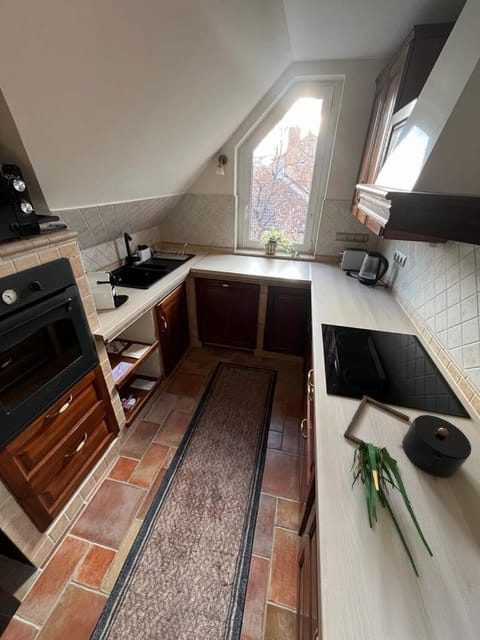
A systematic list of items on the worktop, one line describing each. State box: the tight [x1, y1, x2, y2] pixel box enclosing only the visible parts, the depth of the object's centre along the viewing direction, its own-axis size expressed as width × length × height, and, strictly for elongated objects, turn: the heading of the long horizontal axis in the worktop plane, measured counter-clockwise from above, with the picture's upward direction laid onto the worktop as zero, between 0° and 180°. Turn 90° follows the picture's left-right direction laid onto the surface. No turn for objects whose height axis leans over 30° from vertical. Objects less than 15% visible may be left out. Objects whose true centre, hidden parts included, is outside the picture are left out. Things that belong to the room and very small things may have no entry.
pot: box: [401, 414, 472, 479], centre depth 74 cm, size 14×16×12 cm
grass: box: [349, 439, 434, 578], centre depth 62 cm, size 18×15×25 cm
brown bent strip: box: [343, 395, 410, 466], centre depth 85 cm, size 15×22×1 cm
